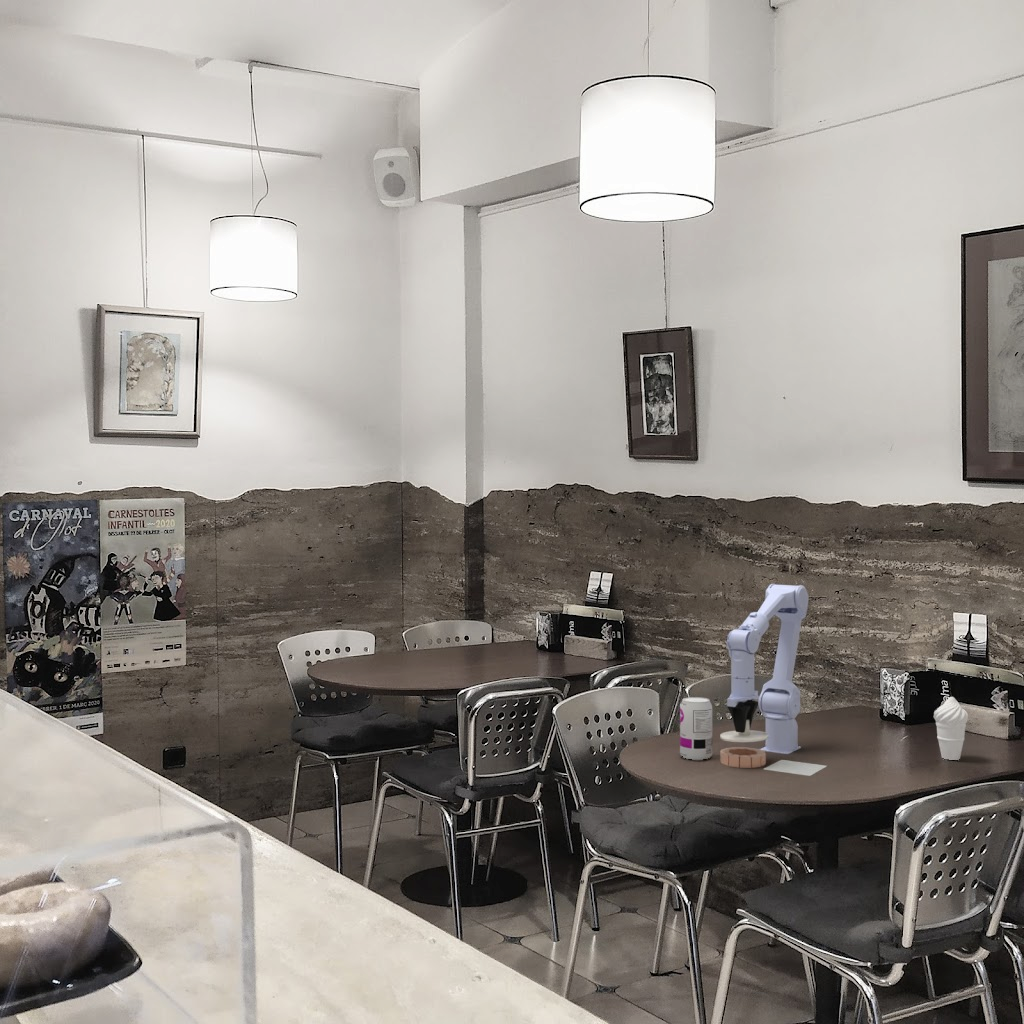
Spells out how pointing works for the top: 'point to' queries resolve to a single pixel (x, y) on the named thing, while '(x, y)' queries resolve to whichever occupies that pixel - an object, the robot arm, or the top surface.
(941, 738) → the soft serve ice cream cone
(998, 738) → the top surface
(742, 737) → the lid
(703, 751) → the supplement can
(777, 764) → the mat
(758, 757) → the bowl
